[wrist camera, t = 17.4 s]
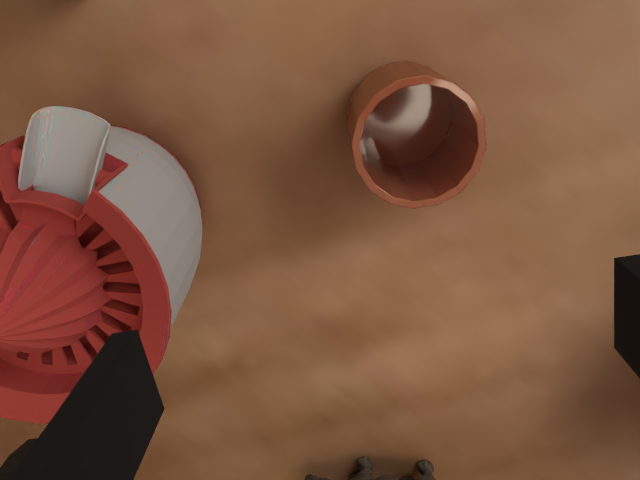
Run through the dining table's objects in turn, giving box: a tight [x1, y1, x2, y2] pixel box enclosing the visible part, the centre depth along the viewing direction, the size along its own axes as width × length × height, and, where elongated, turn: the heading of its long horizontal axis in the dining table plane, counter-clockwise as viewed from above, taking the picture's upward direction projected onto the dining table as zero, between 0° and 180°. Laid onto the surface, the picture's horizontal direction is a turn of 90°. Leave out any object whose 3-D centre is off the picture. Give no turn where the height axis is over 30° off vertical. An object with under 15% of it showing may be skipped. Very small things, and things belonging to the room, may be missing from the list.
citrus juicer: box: [0, 106, 203, 423], centre depth 36 cm, size 16×17×20 cm
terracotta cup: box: [347, 61, 487, 209], centre depth 39 cm, size 8×8×9 cm
